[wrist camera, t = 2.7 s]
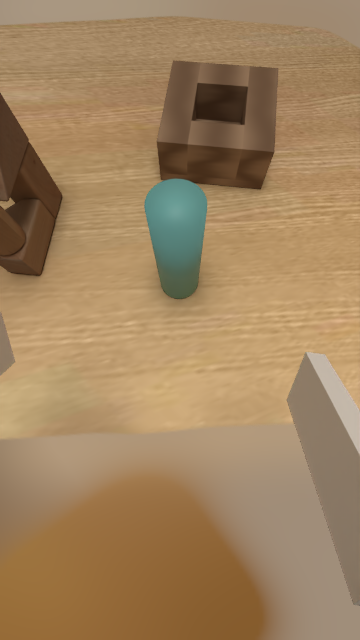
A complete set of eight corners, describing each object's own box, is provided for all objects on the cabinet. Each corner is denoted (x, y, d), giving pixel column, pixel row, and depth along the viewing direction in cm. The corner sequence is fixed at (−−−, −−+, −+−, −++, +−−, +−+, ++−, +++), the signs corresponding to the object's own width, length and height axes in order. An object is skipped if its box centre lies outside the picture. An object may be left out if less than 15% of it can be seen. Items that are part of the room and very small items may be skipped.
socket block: (161, 179, 32) (156, 141, 27) (174, 106, 35) (173, 60, 30) (260, 189, 31) (274, 151, 26) (265, 113, 34) (278, 68, 30)
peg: (158, 296, 28) (139, 228, 16) (163, 262, 29) (150, 175, 17) (195, 300, 28) (203, 235, 16) (199, 266, 29) (210, 181, 17)
